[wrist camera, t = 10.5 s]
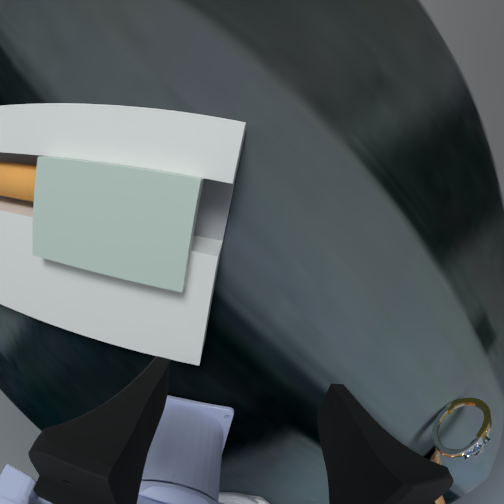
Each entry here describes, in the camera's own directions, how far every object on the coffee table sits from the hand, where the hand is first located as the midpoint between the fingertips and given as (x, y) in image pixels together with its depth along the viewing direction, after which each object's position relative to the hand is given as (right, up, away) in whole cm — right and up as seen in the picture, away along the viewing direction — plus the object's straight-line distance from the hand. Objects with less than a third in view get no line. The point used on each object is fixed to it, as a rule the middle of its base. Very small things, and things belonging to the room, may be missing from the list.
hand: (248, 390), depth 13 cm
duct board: (-12, +9, +7) cm, 16 cm away
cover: (-8, +8, +3) cm, 12 cm away
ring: (+22, -11, +14) cm, 29 cm away
